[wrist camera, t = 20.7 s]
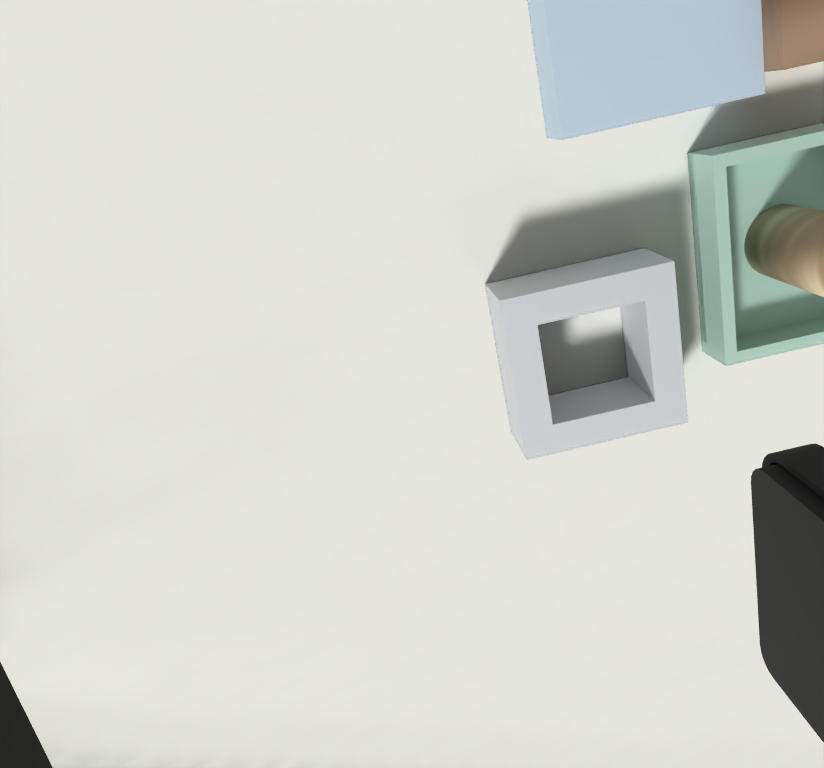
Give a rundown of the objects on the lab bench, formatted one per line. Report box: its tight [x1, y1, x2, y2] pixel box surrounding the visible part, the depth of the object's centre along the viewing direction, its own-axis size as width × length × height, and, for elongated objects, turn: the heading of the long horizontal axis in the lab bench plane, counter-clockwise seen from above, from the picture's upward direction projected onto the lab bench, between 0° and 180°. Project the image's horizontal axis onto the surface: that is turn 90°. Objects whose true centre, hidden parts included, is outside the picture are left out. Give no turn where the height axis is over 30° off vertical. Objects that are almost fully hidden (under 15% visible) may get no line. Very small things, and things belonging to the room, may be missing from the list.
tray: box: [687, 123, 824, 366], centre depth 36 cm, size 10×8×2 cm
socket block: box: [485, 248, 688, 460], centre depth 37 cm, size 8×8×4 cm
